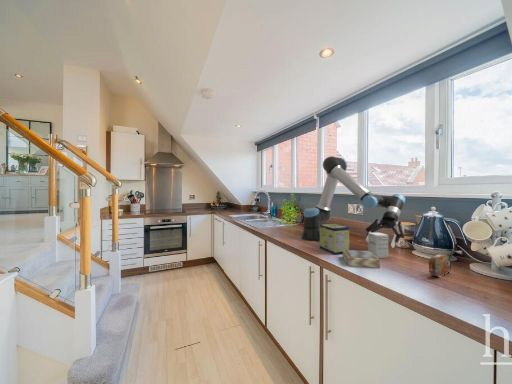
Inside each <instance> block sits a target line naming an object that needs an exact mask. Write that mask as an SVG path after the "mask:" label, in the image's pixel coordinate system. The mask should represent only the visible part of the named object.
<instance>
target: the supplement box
mask: <svg viewBox="0 0 512 384" xmlns="http://www.w3.org/2000/svg"><path fill="white" fill-rule="evenodd" d="M367 233H368V232H367ZM367 245H368V248H367V251H371V252H372V253H373V254H374V255H375V256H376V257H377V258H379V259H380V258H381V259H382V258H384V259H385V258H386V259H387V258H389V234H386V233H382V232H378V231H375V232H373V233H368V243H367Z"/></svg>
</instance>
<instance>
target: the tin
mask: <svg viewBox="0 0 512 384" xmlns="http://www.w3.org/2000/svg"><path fill="white" fill-rule="evenodd" d="M428 269H429V274H430V275H431V276H433V277H437V278H440V277H439V276H441V275H443V274H446V273H448V272H449V273H450V272H451V269H452V261H451V257H450V256H449V254H442V253H439V254H436V255H434V256H431V257H430V258H429V260H428ZM449 273H448V274H449ZM446 275H447V274H446Z"/></svg>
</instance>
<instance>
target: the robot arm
mask: <svg viewBox="0 0 512 384" xmlns="http://www.w3.org/2000/svg"><path fill="white" fill-rule="evenodd" d="M322 168H323V170H324V171H325V174H326V176H327V177H326V179H325V182H324V186H323V189H322V193H321V196H320V199H319V203H318V204H316V205H315V207H310V208H308V207H307V208H305V209H304V210H303V214H302V215H303V230H302V233H301V239H302V240H304V241H309V242H318V241H319V242H320V224H327V223H328V222H329V221H330V220H331V218H332V213H331V211H332V210H331V207H330V206H331V203H332V200H333V198H334V195H335V191H336V188H337V185H338V182H339V183H341V185H342V186H344V187H345V188H346V189H347V190H348V191H350V192H351V193H352V194H353V195H354V196H355V197H356V198H357V199H359V200H360V201H361V202H362V205H363V206H364V207H365V208H368V209H374V208H385V211H384V212H383V215H382V219H381V220H379V219H378V218H376V219H375V220H374V222H372V223H370V225H368V226H367V227H366V228H365V231H366V235H365V236H366V239H365V241H366V243H367V244H368V233H375V232H378V231H379V230H381V229H383V228H384V229H389V230H390V229H391V230H392V231H393V233H394V234H395V235H393V238H392V240H391V243H390V246H391V248H392V249H394V248H395V246H396V243H397V244H398V243H399V241H400V239H401V238H402V239H404V238H405V235H404V231H403V228H402V227H403V225H402V221H399V218H400V214H401V213H402V210H403V208H404V205H405V203H406V197H405V196H404V195H402V194H401V193H394V194H392V195H391V196H386V195H382V194H381V195H379V194H374V193H373V192H371V191H370V190H368V188H366V187H365V186H364V185H363V184H361V183H360V182H359V181H358V180H357V179H355V178H354V177H353V176H352V175H351V174H349V173H348V172H347V168H348V163H347V161H346V160H345V159H344V158H341V157H339V156H338V157H336V156H328V157H326V158H325V159H324V160H323V162H322ZM395 226H397V227H398V231H399V232H398V231H397V230H396V228H395Z"/></svg>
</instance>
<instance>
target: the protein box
mask: <svg viewBox="0 0 512 384" xmlns="http://www.w3.org/2000/svg"><path fill="white" fill-rule="evenodd" d="M319 230H320V240H319V249H322V250H323V251H326V252H327V253H330V254H332V255H343V250H350V227H349V226H344V225H340V224H336V223H320V224H319Z"/></svg>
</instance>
